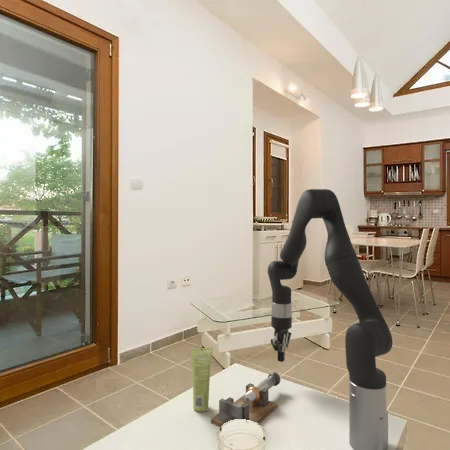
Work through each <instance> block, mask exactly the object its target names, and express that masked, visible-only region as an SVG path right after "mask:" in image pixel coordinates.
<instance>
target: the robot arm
mask: <svg viewBox="0 0 450 450" xmlns="http://www.w3.org/2000/svg"><path fill="white" fill-rule="evenodd" d="M312 219H322V220H323V222H324V225H325V228H326V232H327V239H326V245H325V248H324V249H325V250H324V262H325V266H326V269H327V271H328V275H329V277H330V280H331V282H332V283H333V285H334V286H335V287H336V288H337V290H338V291H339V292H340V293H341V294H342V295H343V296H344V297H345V298H346V300H347V301H348V302H349V303H350V304H351V306H352V307H353V309H354V311H355V314H356V316H357V318H358V319H357V320H358V322H357V323H353V324H350V325H349V326H348V328H347V330H346V332H345V339H344V341H345V342H344V344H345V360H346V361H345V363H346V369H347V371H348V375H349V384H348V385H349V388H348V389H349V391H348V392H349V395H348V396H349V397H348V399H349V403H348V404H349V409H348V410H349V418H348V419H349V423H348V424H349V426H348V427H349V431H348V432H349V433H348V437H349V441H348V442H349V445H350V446H351V448H352V449H353V450H388V446H389V411H388V410H387V374H386V373H385V372H384V371H383V370H381V369H380V368H378V367H377V364H376V363H377V362H376V357H379V356H382V355H383V356H384V355H386V354H388V353H389V352H390V351H391V350H392V347H393V337H392V333H391V331H390V327H389V326H388V324H387V322H386V319H385V317H384V316H383V314H382V312H381V310H380V308H379V306H378V305H377V302H376V300H375V298H374V295H373V293H372V291H371V289H370V285H369V283H368V281H367V280H366V277H365V275H364V271H363V268H362V265H361V262H360V260H359V258H358V255H357V253H356V251H355V248H354V246H353V243H352V240H351V238H350V235H349V233H348V230H347V227H346V223H345V220H344V217H343V213H342V208H341V206H340V203H339V200H338V197H337V195H336V193H335V192H334V191H333V190H331V189H327V188H326V189H325V188H324V189H323V188H319V189H317V188H312V189H306V190H304V191H303V192H302V194H301V195H300V196H299V199H298V202H297V204H296V209H295V212H294V215H293V219H292V224H291V226H290V231H289V233H288V235H287V237H286V240H285V242H284V244H283V246H282V248H281V249H280V250H281V251H280V253H279V257H280V260H273V261H271V262H269V264H268V267H267V275H268V279H269V284H270V287H271V292H272V293H271V294H272V295H271V308H270V309H271V311H270V313H271V315H270V316H271V318H270V320H271V323H270V324H271V327H272V328H273V329H274V332H273V338H271V339H270V343H271V345H272V348H273V350H274V352H275V351H276V352H277V361H278V362H281V363H283V362H284V361H285V359H286V358H285V357H286V355H285V353H286V350H287V349H288V347H289V343H290V341H291V337H292V332H290V331H289V330H290V329H291V328H292V327H293V324H292V323H293V322H292V321H293V318H292V317H293V307H292V289H291V287H290V286H287V285H284V284H283V285H282V282H281V280H283V281H285V280H287V281H288V280H292V279H293V278H295V277H296V276H297V274H298V273H297V272H298V266H299V260H300V258H301V257H302V255H303V253H304V251H305V249H306V247H307V235H306V228H307V225H308V224H309V223H310V222H311V220H312Z"/></svg>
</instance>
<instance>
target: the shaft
mask: <svg viewBox="0 0 450 450" xmlns="http://www.w3.org/2000/svg"><path fill="white" fill-rule="evenodd" d="M281 380H282V378H281V376H280V375H279V373H277V372H275V371H272V372H270V373H269V374H268V376H267V378H265V379H264V380H262V381H261V382H260V383H259V384H257V385H256V386H255V385H254V386H251V387H250V388H248V389H247V390H246V389H245V393H244V394H243V395H242V396H243V397H242V396H241V397H242V400H243V402H244V403H247V404H249V405H250V404H251V403H257V402H258V401H259V400H260V399H261V390H262V389H263V388H267V389H268V391H269V390H270V389H271V388H273V387H277V386H278V385H279V384H280V383H281Z"/></svg>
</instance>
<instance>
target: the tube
mask: <svg viewBox="0 0 450 450" xmlns="http://www.w3.org/2000/svg"><path fill="white" fill-rule="evenodd" d="M213 348H214V347H212V346H211V347H203V348H202V347H200V348H199V347H198V348H190V349H189V354H190V361H191V371H192V372H191V374H192V400H193V401H192V408H193V410H194V411H196V412H206V411H207V410H209V401H210V395H209V394H210V380H211V376H210V375H211V366H212V365H211V364H212V356H213Z"/></svg>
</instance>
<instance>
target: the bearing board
mask: <svg viewBox="0 0 450 450" xmlns="http://www.w3.org/2000/svg"><path fill="white" fill-rule="evenodd" d="M251 386H255V384H253V383H250V382H249V383H248V384H246V385H245V391H246V390H247V389H248V388H250V387H251ZM242 397H243V395H242V396H241V397H239V398H237V400H235V399H234V398H233V397H230V396H229V397H228V398H226V399H224V398H221V399H219V400H218V414H216V415H214V416H213V417H212V418H211V419H210V423H211V424H212V425H214V426H217V427H220V428H222V427H221V426H222V425H223V424H224V423H226V422H228V421H230V420H234V419H246V420H251V421H254V422H257V423H259V425H260V424H261V423H262V422H263V421H264V420H265V419H266V418H267V417H269V416H270V415H271V414H272V413H273V412H274V411H275V410H276V409H277V408H278V403H277V402H274V401H271V400H269V390H268V389H267V388H263V389H262V390H261V399H260V400H259V401H258V402H257V403H251V404H250V405H249V404H247V403H244V402H243V400H242Z"/></svg>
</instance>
